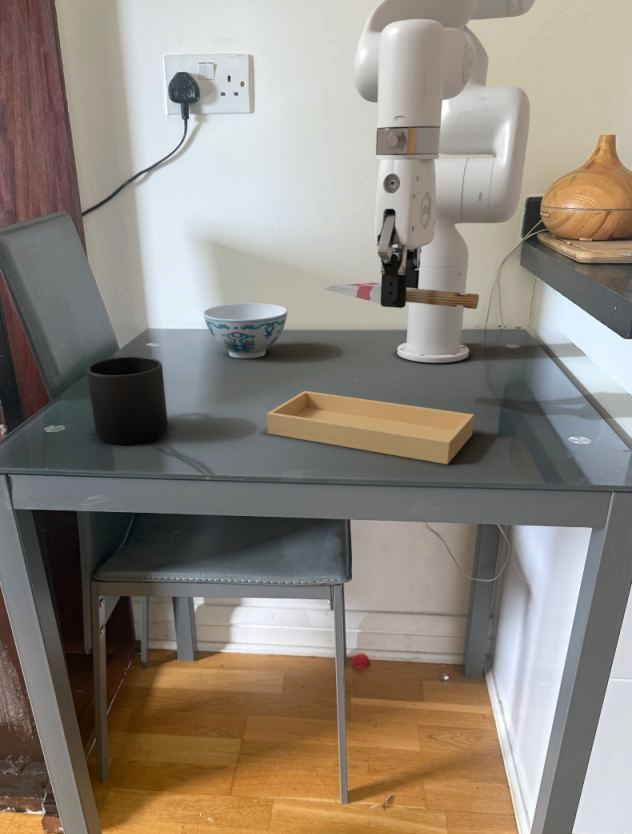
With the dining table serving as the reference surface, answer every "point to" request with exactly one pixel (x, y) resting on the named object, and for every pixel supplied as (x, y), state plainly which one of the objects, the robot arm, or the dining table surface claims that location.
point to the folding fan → (409, 295)
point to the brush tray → (373, 426)
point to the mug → (128, 399)
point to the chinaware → (246, 327)
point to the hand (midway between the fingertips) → (399, 302)
